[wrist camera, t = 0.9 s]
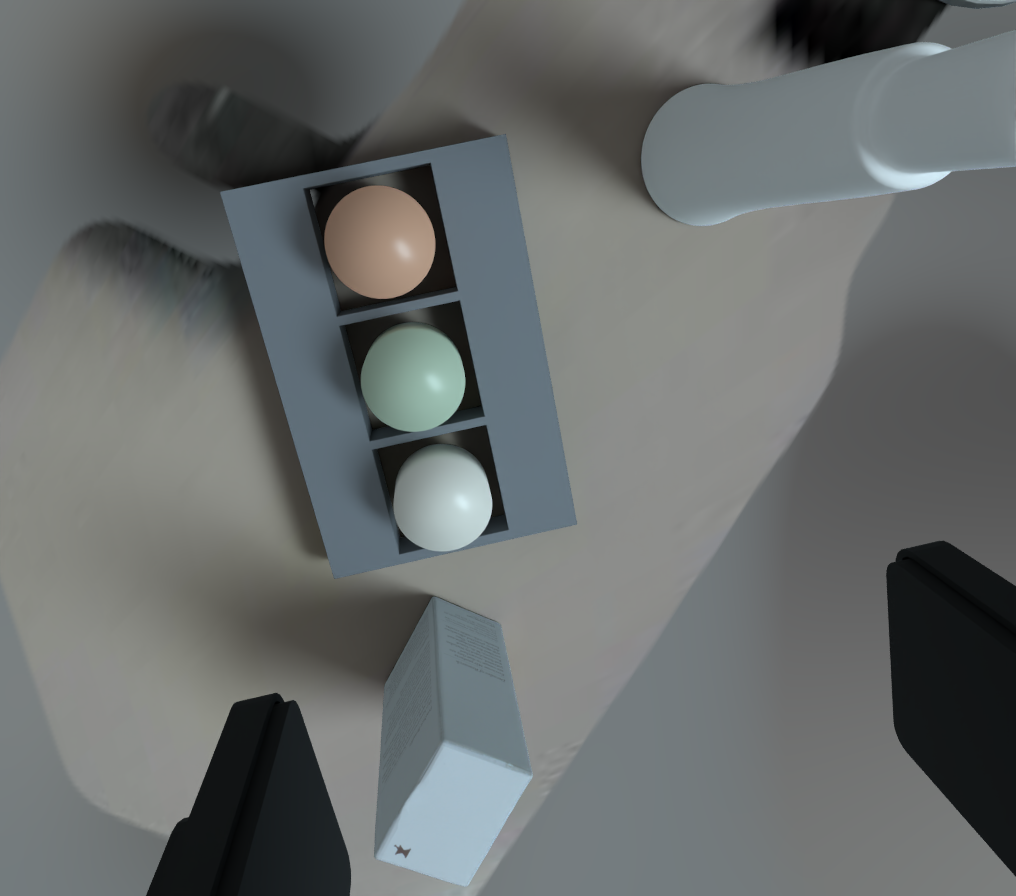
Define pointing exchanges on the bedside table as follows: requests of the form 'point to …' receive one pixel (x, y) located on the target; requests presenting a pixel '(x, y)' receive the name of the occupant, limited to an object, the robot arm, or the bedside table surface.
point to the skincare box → (449, 746)
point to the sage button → (413, 377)
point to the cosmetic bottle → (834, 130)
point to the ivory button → (442, 498)
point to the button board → (321, 324)
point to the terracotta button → (379, 242)
